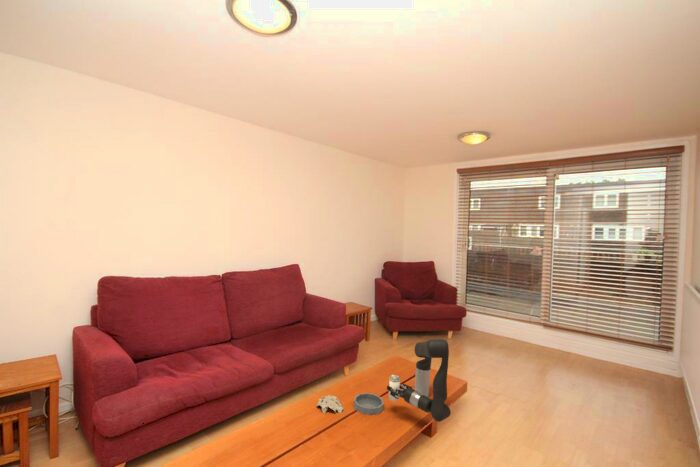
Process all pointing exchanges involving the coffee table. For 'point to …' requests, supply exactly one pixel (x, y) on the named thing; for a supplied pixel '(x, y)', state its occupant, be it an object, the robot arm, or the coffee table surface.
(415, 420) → the coffee table surface
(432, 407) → the robot arm
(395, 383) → the pebble cup
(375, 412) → the bowl
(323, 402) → the coral
